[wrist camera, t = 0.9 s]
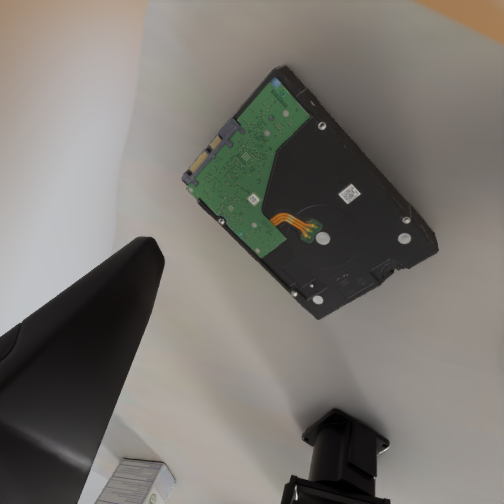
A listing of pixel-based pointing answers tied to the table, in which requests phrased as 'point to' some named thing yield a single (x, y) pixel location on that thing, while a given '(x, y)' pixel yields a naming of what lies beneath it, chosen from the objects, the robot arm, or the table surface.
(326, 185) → the disk drive
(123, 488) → the medicine box
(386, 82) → the table surface
